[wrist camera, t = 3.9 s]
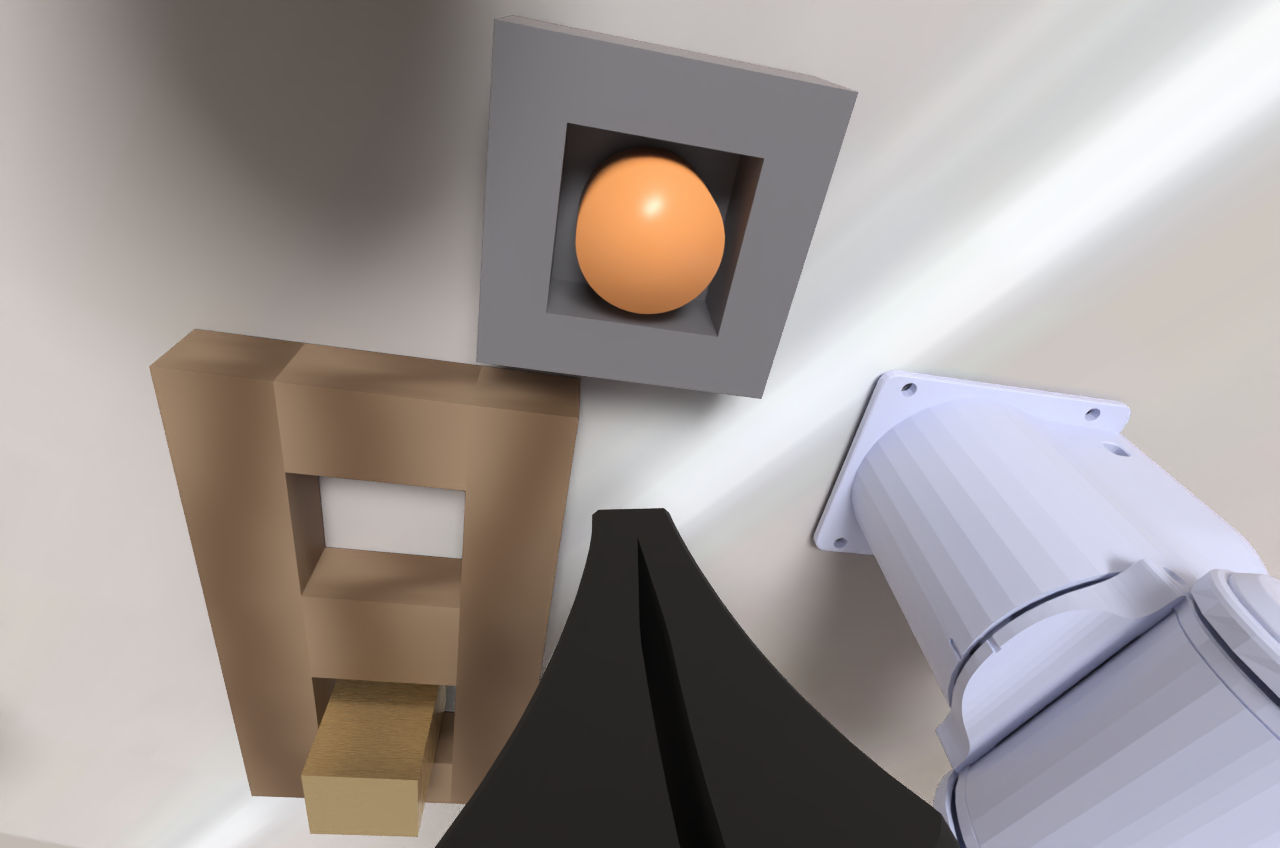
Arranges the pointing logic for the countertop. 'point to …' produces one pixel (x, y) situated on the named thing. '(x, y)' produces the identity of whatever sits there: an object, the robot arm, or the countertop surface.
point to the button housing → (660, 118)
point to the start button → (648, 231)
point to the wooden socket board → (355, 579)
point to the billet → (373, 758)
